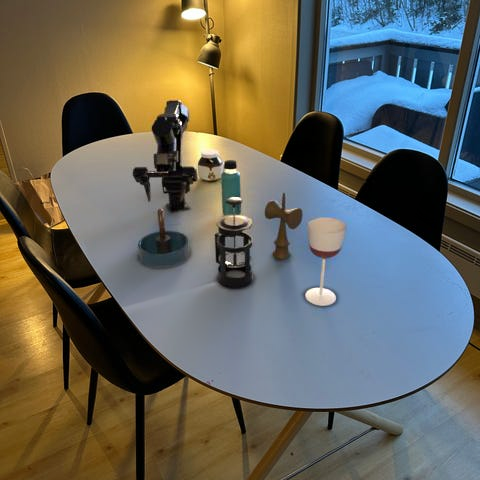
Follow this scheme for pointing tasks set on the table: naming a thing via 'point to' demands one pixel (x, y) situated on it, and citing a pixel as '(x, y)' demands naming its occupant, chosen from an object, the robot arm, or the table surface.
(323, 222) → the wineglass
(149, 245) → the dish
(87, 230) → the table surface
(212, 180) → the spread jar
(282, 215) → the kendama
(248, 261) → the french press
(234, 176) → the beverage bottle
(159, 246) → the peg on round base
